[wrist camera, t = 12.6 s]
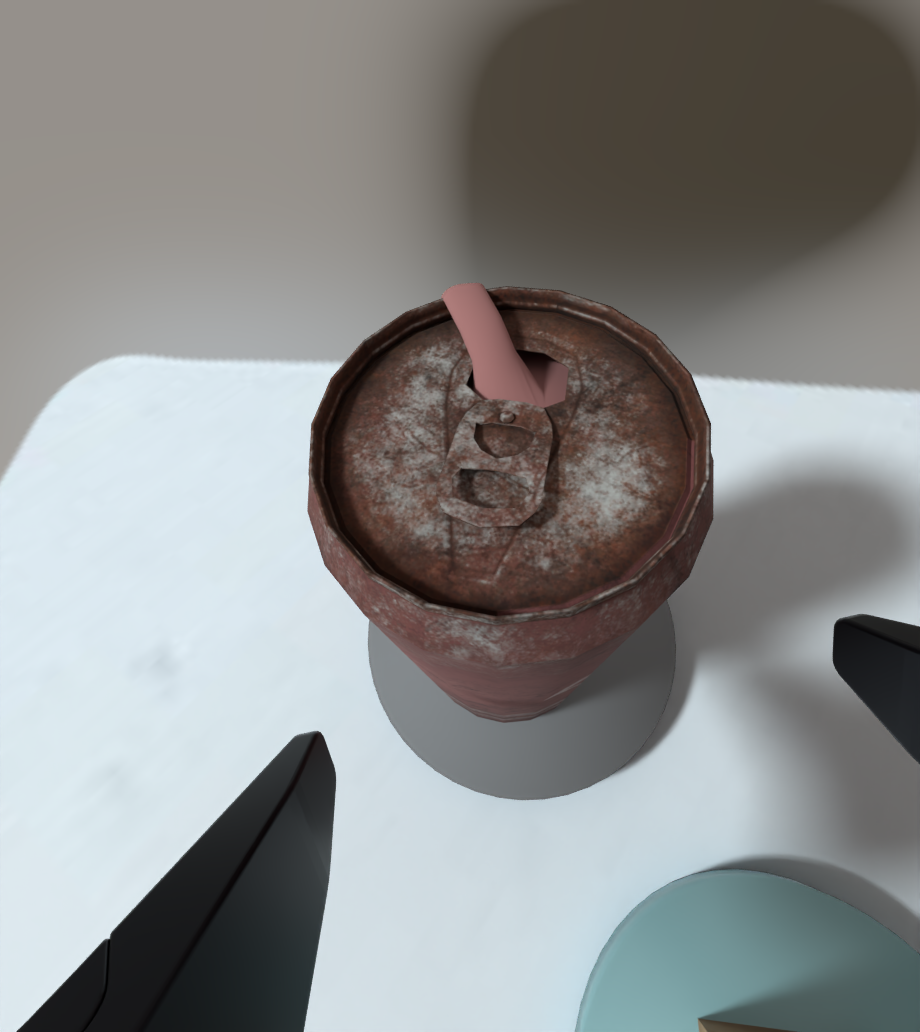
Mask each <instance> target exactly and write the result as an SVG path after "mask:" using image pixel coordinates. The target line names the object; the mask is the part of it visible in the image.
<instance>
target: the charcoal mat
mask: <svg viewBox="0 0 920 1032" xmlns="http://www.w3.org/2000/svg"><path fill="white" fill-rule="evenodd" d="M368 650H369V663H370V668H371V673H372V677H373V682H374V685H375V688H376V691H377V694H378V697H379V699H380V702H381V704H382V706H383V708H384V710H385V712H386V714H387V716H388V718H389V720H390V722H391V723H392V725H393V726H394V728H395V729H396V731H397V732H398V733H399V735H400V736H401V738H402V739H403V740H404V742H405V743H406V744H407V745H408V746H409V747H410V748H411V749H412V750H413V751H414V752H415V754H416V755H417V756H418V757H420V758H421V759H422V760H423V761H424V762H426V763H427V764H428V765H429V766H430V767H432V768H433V769H434V770H435V771H437V772H439V773H440V774H442V775H443V776H445V777H447V778H448V779H450V780H452V781H453V782H455V783H457V784H460V785H462V786H464V787H467V788H469V789H471V790H474V791H476V792H480V793H483V794H487V795H491V796H495V797H499V798H507V799H516V800H537V799H548V798H553V797H559V796H564V795H568V794H571V793H574V792H577V791H579V790H582V789H585V788H588V787H590V786H592V785H594V784H595V783H597V782H599V781H601V780H603V779H605V778H607V777H608V776H610V775H611V774H612V773H614V772H615V771H616V770H618V769H619V768H620V767H622V766H623V765H624V764H626V763H627V762H628V761H629V760H630V759H631V758H632V757H633V756H634V755H635V753H636V752H637V751H638V750H639V749H640V748H641V747H642V746H643V745H644V743H645V742H646V740H647V739H648V738H649V736H650V735H651V733H652V732H653V730H654V729H655V727H656V725H657V723H658V721H659V719H660V717H661V715H662V713H663V711H664V709H665V706H666V703H667V700H668V697H669V694H670V691H671V687H672V682H673V676H674V671H675V654H676V644H675V634H674V625H673V621H672V617H671V613H670V608H669V605H668V602H667V600H665V602H664V603H663V604H662V605H661V606H660V607H659V608H658V609H657V610H656V611H655V612H654V613H653V614H652V615H651V616H650V617H649V618H648V619H647V620H646V621H645V622H644V623H643V624H642V625H641V626H640V627H639V628H638V629H637V630H636V631H635V632H634V633H633V634H632V635H631V636H630V637H629V638H628V639H626V640H625V641H624V642H623V643H622V644H621V645H620V646H619V647H618V648H617V649H616V650H615V651H614V652H613V653H612V654H611V655H610V656H609V657H608V658H607V659H606V660H605V661H604V662H603V663H602V664H601V665H600V666H599V667H598V668H596V669H595V670H594V671H593V672H592V673H591V674H590V675H589V676H588V677H587V678H586V679H585V680H584V681H583V682H582V683H581V684H580V685H579V686H578V687H577V688H576V689H575V690H574V691H573V692H572V693H571V694H570V695H569V696H568V697H567V698H565V699H564V700H563V701H562V702H561V703H560V704H559V705H558V706H557V707H556V708H555V709H553V710H551V711H549V712H547V713H545V714H543V715H540V716H538V717H536V718H534V719H532V720H527V721H518V722H508V723H502V722H498V721H494V720H489V719H485V718H481V717H477V716H476V715H474V714H472V713H471V712H469V711H468V710H466V709H464V708H463V707H461V706H460V705H458V704H456V703H455V702H454V701H453V700H452V699H451V698H450V697H449V696H448V695H447V694H445V693H444V692H443V691H442V690H441V689H440V688H439V687H438V686H437V685H436V684H435V683H434V682H433V681H432V680H431V679H430V678H429V677H428V676H427V675H426V674H425V673H424V672H423V671H422V670H421V669H420V668H419V667H418V666H417V665H416V664H415V663H414V662H413V661H412V660H411V659H409V658H408V657H407V656H406V655H405V654H404V653H403V652H402V651H401V650H400V649H399V648H398V647H397V646H396V645H395V644H394V643H393V642H392V641H391V640H390V639H389V638H388V637H387V636H386V635H385V634H384V633H383V632H382V631H381V630H380V629H379V628H378V627H377V626H376V625H375V624H374V623H372V622H371V621H369V632H368Z"/></svg>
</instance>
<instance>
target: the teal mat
mask: <svg viewBox="0 0 920 1032" xmlns="http://www.w3.org/2000/svg"><path fill="white" fill-rule="evenodd" d="M698 1019H706V1020H713V1021H721V1022H729V1023H736V1024H744V1025H751V1026H759V1027H766V1028H774V1029H781V1030H789V1031H797V1032H920V954H919V953H918V952H916V951H915V950H914V949H913V948H912V947H910V946H909V945H908V944H907V943H906V942H905V941H903V940H902V939H901V938H900V937H899V936H897V935H896V934H895V933H893V932H892V931H890V930H889V929H887V928H886V927H884V926H883V925H882V924H880V923H879V922H877V921H876V920H874V919H873V918H872V917H870V916H869V915H867V914H865V913H863V912H861V911H859V910H858V909H856V908H854V907H852V906H850V905H849V904H847V903H845V902H843V901H841V900H839V899H837V898H835V897H832V896H830V895H828V894H825V893H823V892H821V891H818V890H816V889H814V888H811V887H809V886H806V885H804V884H801V883H799V882H797V881H794V880H792V879H788V878H784V877H781V876H777V875H773V874H770V873H766V872H758V871H750V870H742V869H732V870H713V871H708V872H703V873H697V874H693V875H690V876H687V877H685V878H682V879H679V880H676V881H674V882H671V883H669V884H668V885H666V886H664V887H663V888H661V889H659V890H657V891H656V892H654V893H652V894H651V895H649V896H648V897H647V898H646V899H645V900H643V901H642V902H641V903H640V904H639V905H637V906H636V907H635V908H634V909H633V910H632V911H631V912H630V913H629V914H628V915H627V916H626V918H625V919H624V920H623V921H622V922H621V923H620V924H619V925H618V927H617V928H616V929H615V931H614V932H613V934H612V935H611V937H610V938H609V940H608V942H607V943H606V945H605V946H604V948H603V949H602V951H601V953H600V955H599V957H598V960H597V962H596V964H595V966H594V968H593V970H592V972H591V974H590V977H589V980H588V983H587V986H586V989H585V992H584V995H583V999H582V1002H581V1005H580V1010H579V1014H578V1019H577V1024H576V1029H575V1032H699V1027H698Z"/></svg>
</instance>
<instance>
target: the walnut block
mask: <svg viewBox="0 0 920 1032" xmlns="http://www.w3.org/2000/svg"><path fill="white" fill-rule="evenodd" d="M698 1027H699V1032H797V1031H789V1030H781V1029H774V1028H766V1027H759V1026H751V1025H744V1024H736V1023H729V1022H721V1021H713V1020H706V1019H698Z"/></svg>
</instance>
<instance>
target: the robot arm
mask: <svg viewBox="0 0 920 1032" xmlns="http://www.w3.org/2000/svg"><path fill="white" fill-rule="evenodd" d="M833 663H834V666H835V669H836V670H837V672H838V674H839V675H840V676H841V677H842V678H843V680H844V681H845V682H846V683H847V684H848V685H849V686H850V688H851V689H852V690H853V691H854V692H855V693H856V694H857V696H858V697H859V698H860V699H861V700H862V701H863V702H864V703H865V705H866V706H867V707H868V708H869V709H870V710H871V711H872V713H873V714H874V715H875V716H876V717H877V718H878V719H879V721H880V722H881V723H882V724H883V725H884V726H885V727H886V729H887V730H888V731H889V732H890V733H891V734H892V735H893V736H894V738H895V739H896V740H897V741H898V742H899V743H900V744H901V745H902V746H903V747H904V749H905V750H906V751H907V752H908V753H909V754H910V755H911V756H912V757H913V758H914V759H915V760H916V761H917V762H918V763H919V764H920V627H919V626H915V625H911V624H906V623H902V622H897V621H893V620H889V619H884V618H880V617H875V616H871V615H866V614H858V615H853V616H849V617H844V618H840V619H839V620H837V621H836V623H835V625H834V637H833ZM335 792H336V772H335V768H334V764H333V762H332V759H331V756H330V753H329V750H328V747H327V745H326V742H325V739H324V737H323V735H322V733H321V732H319V731H313V732H308V733H304V734H299V735H297V736H295V737H294V738H293V739H292V740H291V741H290V742H289V743H288V744H287V745H286V746H285V747H284V748H283V749H282V750H281V752H280V753H279V754H278V755H277V756H276V757H275V758H274V759H273V760H272V761H271V762H270V763H269V764H268V765H267V766H266V768H265V769H264V770H263V771H262V772H261V773H260V774H259V775H258V776H257V777H256V778H255V779H254V780H253V781H252V783H251V784H250V785H249V786H248V787H247V788H246V789H245V790H244V791H243V792H242V793H241V794H240V795H239V796H238V798H237V799H236V800H235V801H234V802H233V803H232V804H231V805H230V806H229V807H228V808H227V809H226V810H225V811H224V813H223V814H222V815H221V816H220V817H219V818H218V819H217V820H216V821H215V822H214V823H213V824H212V825H211V826H210V827H209V829H208V830H207V831H206V832H205V833H204V834H203V835H202V836H201V837H200V838H199V839H198V840H197V841H196V842H195V844H194V845H193V846H192V847H191V848H190V849H189V850H188V851H187V852H186V853H185V854H184V855H183V856H182V857H181V859H180V860H179V861H178V862H177V863H176V864H175V865H174V866H173V867H172V868H171V869H170V870H169V871H168V872H167V874H166V875H165V876H164V877H163V878H162V879H161V880H160V881H159V882H158V883H157V884H156V885H155V886H154V887H153V888H152V890H151V891H150V892H149V893H148V894H147V895H146V896H145V897H144V898H143V899H142V900H141V901H140V902H139V903H138V905H137V906H136V907H135V908H134V909H133V910H132V911H131V912H130V913H129V914H128V915H127V916H126V917H125V918H124V919H123V921H122V922H121V923H120V924H119V925H118V926H117V927H116V928H115V929H114V930H113V931H112V933H111V934H110V939H105V940H104V941H103V942H102V943H101V944H100V945H99V946H98V947H97V948H96V949H95V950H94V951H93V952H92V954H91V955H90V956H89V957H88V958H87V959H86V960H85V961H84V962H83V963H82V964H81V965H80V966H79V967H78V968H77V970H76V971H75V972H74V973H73V974H72V975H71V976H70V977H69V978H68V979H67V980H66V981H65V982H64V983H63V984H62V985H61V986H60V987H59V988H58V989H57V990H56V991H55V992H54V994H53V995H52V996H51V997H50V998H49V999H48V1000H47V1001H46V1002H45V1003H44V1004H43V1005H42V1006H41V1007H40V1008H39V1009H38V1010H37V1011H36V1012H35V1013H34V1014H33V1015H32V1016H31V1017H30V1019H29V1020H28V1021H27V1022H26V1023H25V1024H24V1025H23V1026H22V1027H21V1028H20V1029H19V1030H17V1031H16V1032H304V1026H305V1020H306V1015H307V1009H308V1003H309V997H310V991H311V985H312V979H313V973H314V968H315V962H316V956H317V950H318V944H319V938H320V932H321V926H322V921H323V915H324V909H325V903H326V897H327V890H328V883H329V875H330V864H331V850H332V835H333V821H334V806H335Z"/></svg>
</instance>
